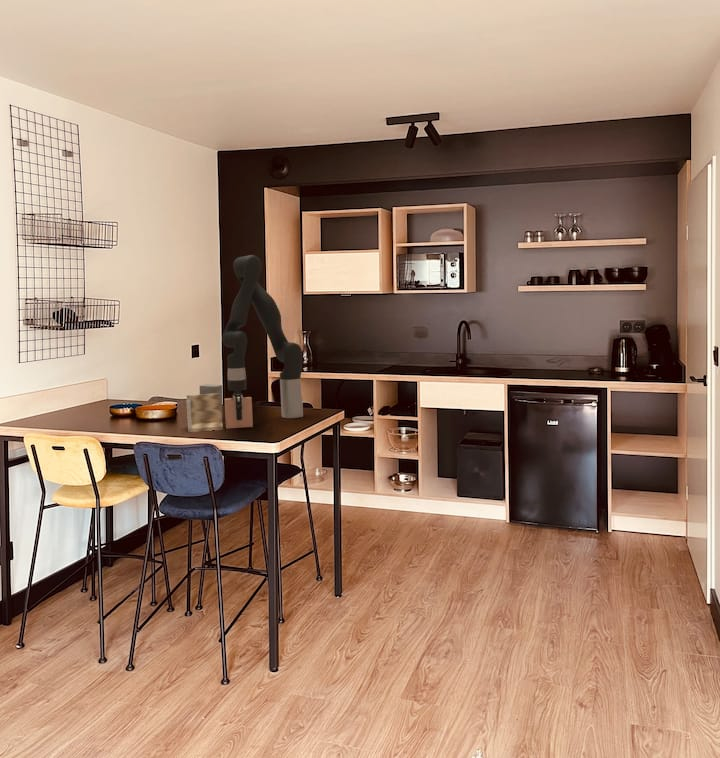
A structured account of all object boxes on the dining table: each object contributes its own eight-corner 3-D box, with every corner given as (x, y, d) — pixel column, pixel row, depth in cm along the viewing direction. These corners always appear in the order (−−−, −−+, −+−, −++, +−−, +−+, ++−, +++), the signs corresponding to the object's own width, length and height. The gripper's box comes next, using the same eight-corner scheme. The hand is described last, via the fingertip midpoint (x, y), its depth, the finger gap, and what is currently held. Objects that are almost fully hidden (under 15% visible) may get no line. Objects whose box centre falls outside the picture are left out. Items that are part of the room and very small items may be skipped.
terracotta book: (252, 424, 316) (250, 396, 314) (252, 426, 311) (251, 398, 310) (225, 426, 314) (224, 398, 312) (226, 428, 309) (224, 400, 308)
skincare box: (199, 421, 329) (197, 385, 327) (207, 418, 335) (205, 383, 333) (216, 421, 326) (214, 385, 324) (224, 418, 333) (222, 383, 331)
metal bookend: (192, 423, 315) (190, 397, 313) (191, 428, 304) (190, 401, 302) (188, 423, 314) (186, 398, 313) (188, 428, 303) (186, 402, 302)
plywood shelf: (222, 424, 319) (220, 393, 317) (223, 429, 306) (221, 397, 305) (188, 426, 316) (186, 395, 314) (188, 432, 303) (186, 399, 302)
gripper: (247, 380, 304) (249, 421, 306) (244, 376, 318) (246, 415, 320) (228, 381, 302) (230, 422, 304) (227, 377, 316) (229, 416, 318)
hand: (238, 418), depth 312 cm, fingers closed on terracotta book, 4 cm apart
